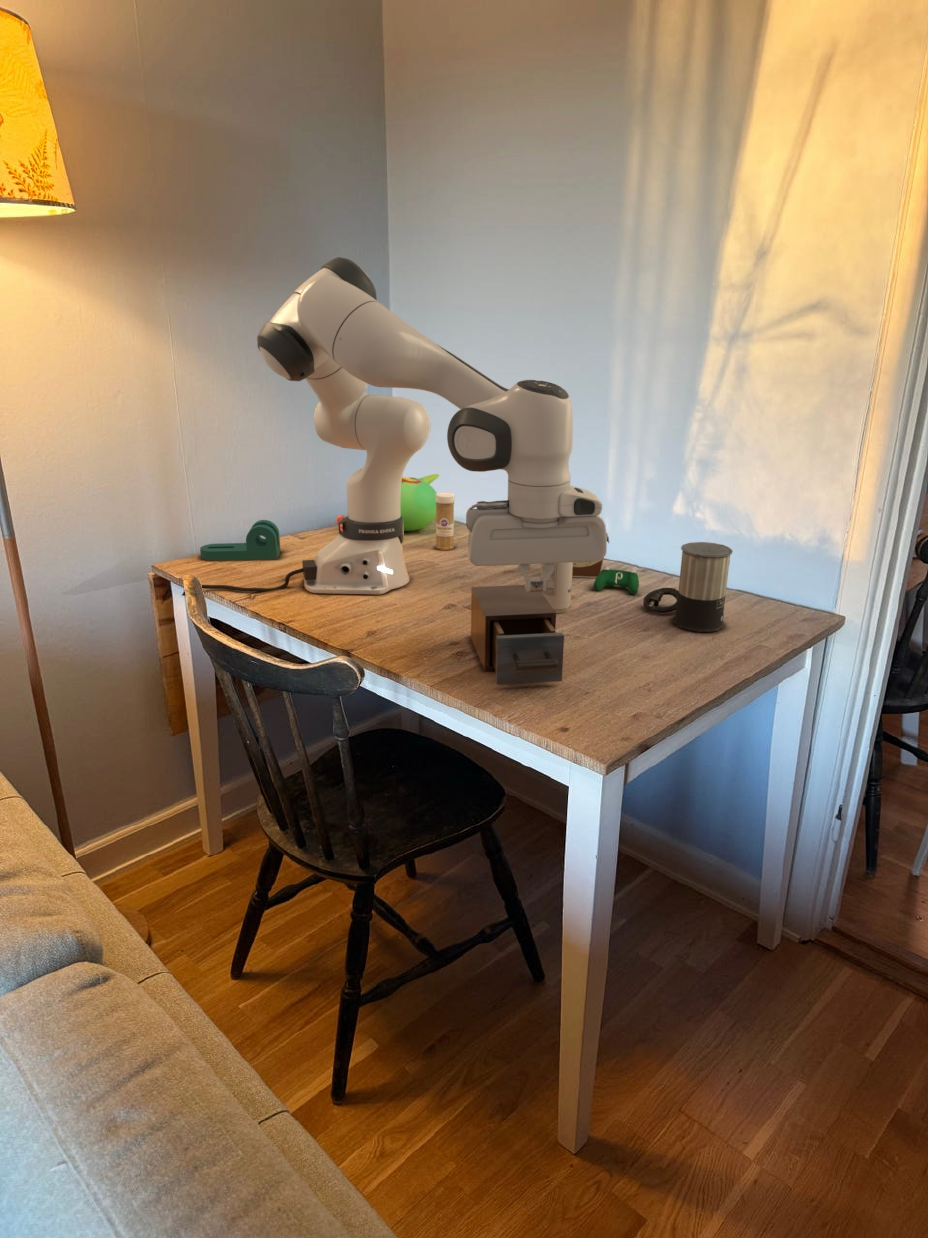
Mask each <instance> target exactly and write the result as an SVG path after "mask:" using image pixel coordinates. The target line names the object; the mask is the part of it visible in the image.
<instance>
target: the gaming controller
mask: <svg viewBox="0 0 928 1238" xmlns="http://www.w3.org/2000/svg"><path fill="white" fill-rule="evenodd" d="M639 579H640V578H639V575H638V573H637V571H636V569H634V568H630V569H629V571H628V570H620V569H610V567H609V566H608V565H605V566H604V567H602V570H601V572H600V574H599V575H598V576H597V578H595V580H594V582H593V590H594V591H601V590H602V589H603V588H605V587H606V586H607V587H608V588H613V587H618V588H622V589H628V591H629V593H630V595H634V596H635V595H637V594H638V592H639V586H640V580H639Z"/></svg>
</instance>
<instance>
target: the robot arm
mask: <svg viewBox="0 0 928 1238" xmlns="http://www.w3.org/2000/svg"><path fill="white" fill-rule="evenodd" d="M377 297H378V296H377V290H376V287H375V285H374V283H373V281H371V279H370V277H369V275H368V274H367V273H366V271H364V270H363V268H361V266H359V265H358V264H357V263H355V262H354V261H353V260H352V259H349V258H345V257H341V256H338V257H337V256H336V257H335V258H332V259H331V260H328V261H327V262H325V263H324V264H323V265H321V266H320V270H319V271H317V272H316V273H314V274H313V275H311V276H310V277H309V278H307V279H306V280H305V281H304V282H303V283H302V284H300V285H299V286H298V287H297V288H296V289H295V290H294V291H293V292H292V294H291V295H290V297H288V298H287V300H286V301H285V302H283V304H282V305H281V306H280V307H279V308H278V309H277V310H276V312H275V313H274V315H273V316H272V318H270V320H269V321H265V323H264V324H263V326H262V327H261V329H260V330H259V332H258V334H257V336H256V341H257V345H256V346H257V349H258V350H259V352H260V355H261V356H262V359H263V361H264V362H265V364H266V365H267V366H268V367H269V368H270V369H271V370H272V371H273V372H274V373H275V374H277V375H279V376H281V377H283V378H284V379H286V380H288V381H289V382H301V381H303V380H305V381H306V382H307V384H308V385H309V387H310V388H311V390H312V391H313V392H314V394H315V396H316V397H317V399H318V401H319V402H318V403H317V405H316V407H315V409H314V413H313V427H314V430H315V432H316V434H317V436H318V437H319V439H320V440H322V441H323V442H325V443H328V444H330V445H334V446H336V447H339V448H341V449H350V450H360V451H366V459H365V463H364V464H363V467H361V468H360V469H358V470H356V471H355V472H354V473H352V474H351V475H350V476H349V478H348V479H347V482H346V502H347V503H346V504H347V516H345V515H343V514H340V515H337V517H336V519H335V521H336V525H337V526H338V535H337V536H336V537H334V538H333V539H332V540H330V541H329V542H328V543H327V544H326V545H324V546H323V547H322V548H321V549H319V550H318V552H317V554H316V555H315V559H305V560H304V559H303V560H301V563H302V564H301V565H302V567H301V568H298V569H295V570H292V571H290V572H289V573H287V574H286V575H285V578H284V583H282V584H281V585H279V586H276V587H270V588H269V587H268V588H267V587H240V586H235V585H229V584H228V585H227V584H201V585H202V588H203V589H205V590H230V591H235V592H236V591H237V592H243V593H247V592H249V593H251V592H252V593H254V592H256V593H267V592H273V591H278V590H282V589H283V590H284V589H285V588H287V587H288V586H289V583H290V578H292V577H293V576H294V575H298V574H301V573H302V574H303V577H304V579H303V587H304V589H305V590H306V591H308V592H309V593H311V594H332V595H333V594H334V595H335V594H337V595H339V594H340V595H383V594H385V593H387V592H389V591H391V590H394V589H398V588H402V587H404V586H406V585H407V584H408V583H409V582H410V581H411V580H410V579H411V578H410V576H409V572H408V570H407V566H406V565H407V564H406V560H405V554H404V549H403V548H404V547H403V544H404V543H403V542H404V538H405V533H404V532H405V531H404V525H403V518H402V516H401V506H400V505H401V482H402V477H404V472H405V470H406V467H407V465H408V463H409V462H410V460H411V459H412V457H413V456H414V455H416V453H417V452H419V451H420V450H421V449H422V448H423V447H424V446H425V445H426V443H427V441H428V439H429V437H430V433H431V418H430V415H429V413H428V410H427V409H426V407H425V406H424V405H423V404H422V403H421V402H417V401H415V400H411V399H409V398H405V397H401V396H390V395H377V394H376V395H375V394H370V393H368V392H366V390H367V389H368V386H369V385H370V386H373V387H376V388H387V389H388V388H390V389H391V388H393V389H394V388H395V389H411V390H413V389H414V390H420V391H426V392H429V393H433V394H435V395H438V396H440V397H442V398H443V399H445V400H446V401H448V402H449V403H451V404H452V405H453V406H455V407H456V408H458V409H459V410H458V411H456V412H455V413H454V414H453V416H452V417H451V419H450V420H449V423H448V427H447V432H446V440H447V446H448V449H449V452H450V454H451V456H452V458H453V460H454V461H455V462H456V463H457V465H459V466H460V467H461V468H463V469H465V470H466V471H469V472H478V473H484V472H490V471H498V470H502V471H505V472H506V474H507V499H506V500H505V499H503V500H493V501H485V500H480V501H477V502H476V503H475V504H473V505H471V506H470V507H469V508H468V509H467V510H466V513H465V526H466V528H467V530H468V537H467V538H468V540H467V557H468V560H469V562H470V563H471V564H472V565H473V566H474V567H489V566H492V567H493V566H517V567H518V569H519V572H520V573H521V575H522V577H523V579H524V585H525V590H526V592H532V591H546V581H547V580H548V579H549V577H550V576H551V574H552V573H553V571H554V568H555V563H569V562H594V561H601V560H602V559H603V558H605V557H606V555H607V547H608V546H607V545H608V542H607V535H606V533H607V525H606V522H605V520H604V519H603V517H602V516H601V514H602V511H603V503H602V500H601V499H600V498H599V497H598V496H597V495H596V494H594V493H593V492H592V491H590V490H588V489H585V488H582V487H578V486H574V485H572V484H571V483H572V482H571V481H572V479H571V477H572V476H571V472H570V465H569V462H570V457H571V454H572V451H573V443H574V441H573V440H574V438H573V437H574V427H573V426H574V425H573V424H574V423H573V422H574V420H573V418H574V417H573V405H572V401H571V397H570V395H569V392H567V390H566V389H564V388H563V387H562V386H560V385H558V384H556V383H552V382H549V381H545V380H536V379H524V380H520V381H517V382H516V383H515V384H513V386H511V388H507V387H505V386H502V385H500V384H499V383H498V382H496V381H494V380H493V379H491V378H489V377H488V376H487V375H485V374H484V373H482V372H481V371H479V370H478V369H476V368H475V367H473V366H472V365H470V364H469V363H467V362H466V361H465V360H463V359H461V358H460V357H459V356H457V355H456V354H454V353H453V352H451V351H449V350H447V349H445V347H444V348H443V347H442V346H440V345H439V344H437V343H436V342H434V341H433V340H431V339H430V338H429V337H427V336H426V335H424V334H422V333H421V332H419V331H418V330H416V329H415V328H414V327H412V326H411V325H410V324H408V323H407V322H406V321H404V320H403V319H402V318H400V317H399V316H397V315H396V314H395V313H394V312H392V311H391V310H390V309H388V307H386V305H385V306H384V305H383V304H382V303H381V302H379V301H378V299H377ZM603 560H604V559H603ZM539 564H540V565H543V566H544V570H543V572H542V574H541V573H540V575H539V576H530V575H529V574H528V571H531V565H539ZM181 596H186V595H185V591H183V593H181Z"/></svg>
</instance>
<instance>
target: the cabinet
mask: <svg viewBox="0 0 928 1238" xmlns="http://www.w3.org/2000/svg"><path fill="white" fill-rule="evenodd" d="M470 590H471V595H470V599H471V600H470V606H471V607H470V638H471V641H472V644H473V647H474V648H475V651H476V653H477V656H478V658H479V660H480V663H481V665H482V667H483V670H484V672H486V671H489V672H490V671H496V670H495V668H494V665H493V663H492V661H491V659H490V620H509V619H530V618H547V619H548V620H549V622H550V623H551V625H552V626H553V628H554V629H555V630H556V627H557V625H556V624H557V613H556V612H555V610H554V609H553V608H552V606H551V605H550V603H549V602H548V601H547V599H546V598H545V597H544V595H543V594H542V592H541V591H532V592H526V590H525V584H515V585H514V584H513V585H511V584H509V585H487V586H471V589H470Z"/></svg>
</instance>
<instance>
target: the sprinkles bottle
mask: <svg viewBox="0 0 928 1238" xmlns="http://www.w3.org/2000/svg"><path fill="white" fill-rule="evenodd" d="M436 493H437V494H436V518H435V540H436V541H435V548H436V549H437V550H441V551H448V550H452V549H454V547H455V545H454V544H455V542H454V537H455V536H454V535H455V512H454V511H455V508H454V507H455V494H454V493H452V492H436Z"/></svg>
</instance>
